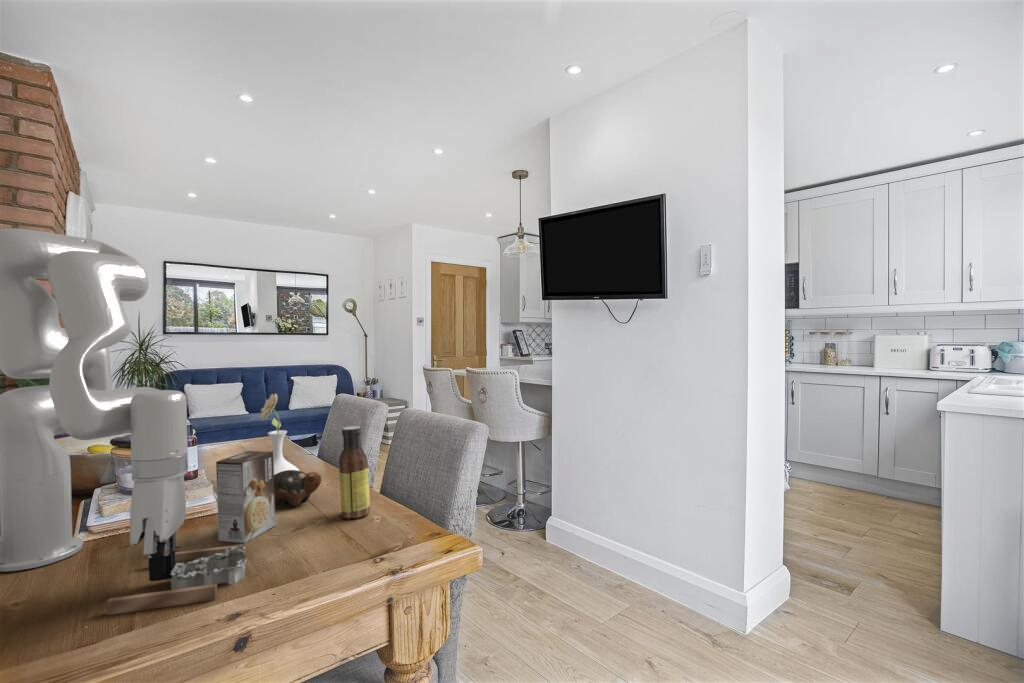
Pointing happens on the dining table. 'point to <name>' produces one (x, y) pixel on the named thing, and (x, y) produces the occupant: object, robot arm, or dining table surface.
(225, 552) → the egg carton
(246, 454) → the coffee box
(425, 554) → the dining table surface
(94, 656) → the dining table surface
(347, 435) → the sauce bottle
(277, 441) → the flower in vase
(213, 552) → the pair of wooden bars
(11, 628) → the dining table surface
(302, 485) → the decorative turtle
